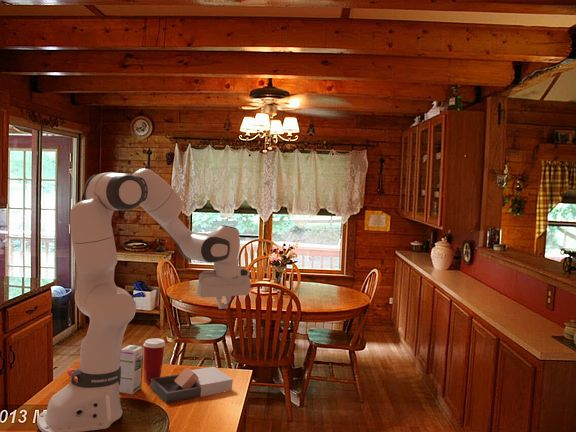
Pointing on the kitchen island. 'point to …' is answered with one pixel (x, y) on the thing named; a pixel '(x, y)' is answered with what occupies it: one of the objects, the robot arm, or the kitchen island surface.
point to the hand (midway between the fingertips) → (222, 308)
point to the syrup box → (131, 369)
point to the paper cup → (153, 358)
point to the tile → (186, 379)
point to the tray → (173, 389)
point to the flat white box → (212, 381)
